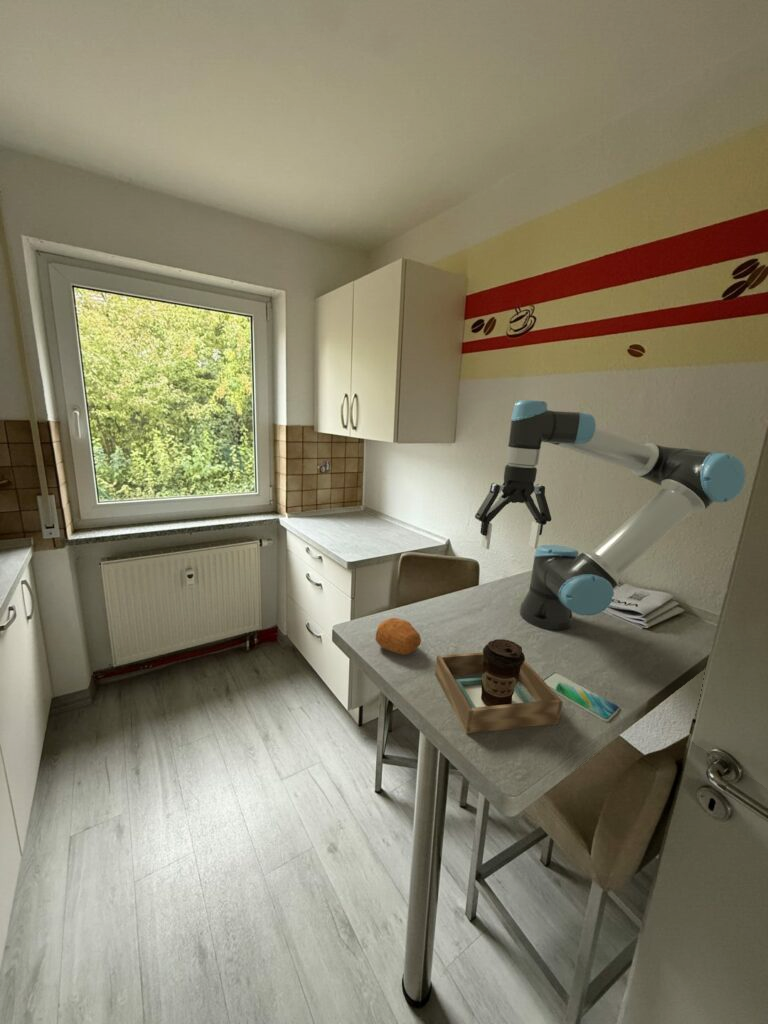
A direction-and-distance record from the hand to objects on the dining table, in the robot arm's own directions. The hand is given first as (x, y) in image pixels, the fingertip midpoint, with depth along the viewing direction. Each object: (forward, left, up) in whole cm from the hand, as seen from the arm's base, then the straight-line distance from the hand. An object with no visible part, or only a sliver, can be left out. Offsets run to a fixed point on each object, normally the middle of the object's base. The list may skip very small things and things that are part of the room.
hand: (509, 547), depth 105 cm
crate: (+12, +22, -27) cm, 36 cm away
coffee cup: (+12, +24, -26) cm, 38 cm away
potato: (+28, +2, -27) cm, 39 cm away
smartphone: (-8, +24, -27) cm, 37 cm away
